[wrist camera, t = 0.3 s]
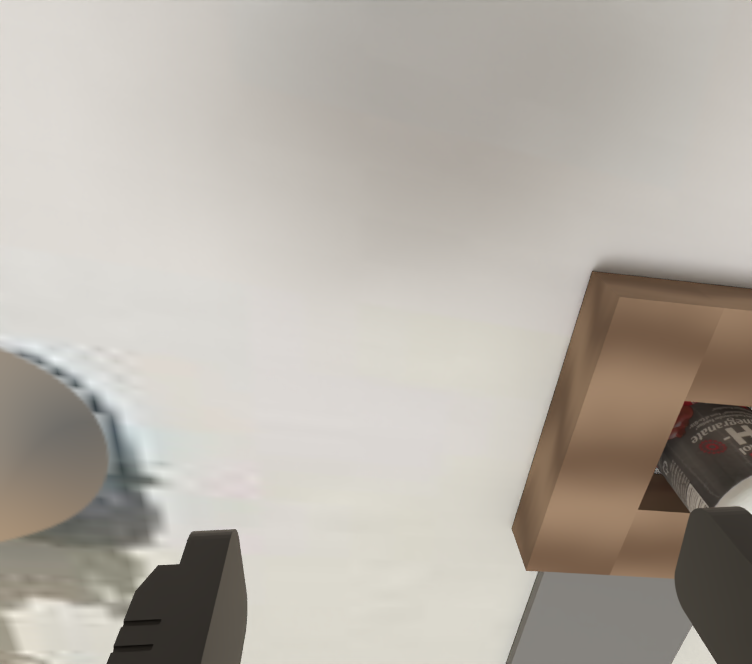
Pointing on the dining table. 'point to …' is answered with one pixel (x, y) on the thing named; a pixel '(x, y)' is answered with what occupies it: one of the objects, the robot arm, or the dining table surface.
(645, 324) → the walnut dock
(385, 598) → the dining table surface
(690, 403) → the pill bottle
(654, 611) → the charcoal mat
